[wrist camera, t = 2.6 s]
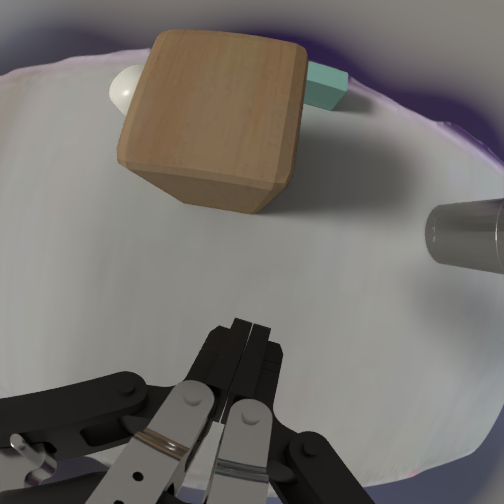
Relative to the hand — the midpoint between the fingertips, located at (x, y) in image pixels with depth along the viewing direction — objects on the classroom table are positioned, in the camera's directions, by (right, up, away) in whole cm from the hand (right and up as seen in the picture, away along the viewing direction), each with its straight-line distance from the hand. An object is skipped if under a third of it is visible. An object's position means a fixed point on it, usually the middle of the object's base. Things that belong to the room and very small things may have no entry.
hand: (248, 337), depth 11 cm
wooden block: (-3, +14, +22) cm, 26 cm away
